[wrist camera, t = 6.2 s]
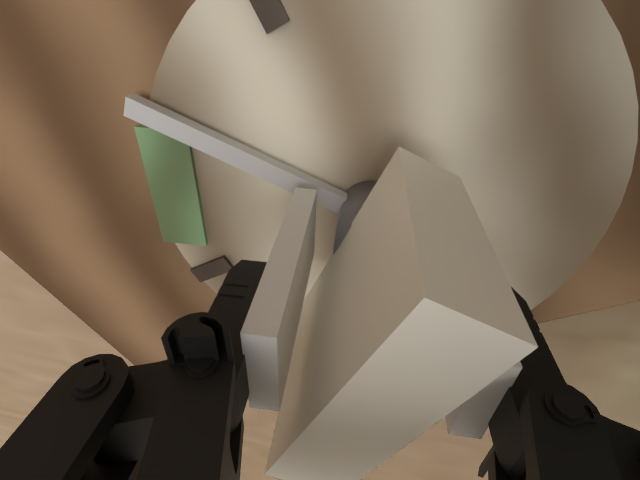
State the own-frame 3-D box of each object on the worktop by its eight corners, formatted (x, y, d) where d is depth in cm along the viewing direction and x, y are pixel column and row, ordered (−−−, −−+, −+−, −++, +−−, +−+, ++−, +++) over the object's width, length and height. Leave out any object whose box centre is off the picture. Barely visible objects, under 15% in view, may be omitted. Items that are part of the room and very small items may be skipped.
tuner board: (727, -736, 6) (895, -1076, 4) (700, 249, 16) (745, 285, 14) (-113, 95, 17) (-178, 110, 15) (190, 377, 27) (176, 408, 25)
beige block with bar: (152, -8, 11) (-245, 6, 4) (449, 145, 13) (549, 351, 6) (126, 179, 15) (-97, 355, 8) (355, 278, 17) (343, 499, 9)
